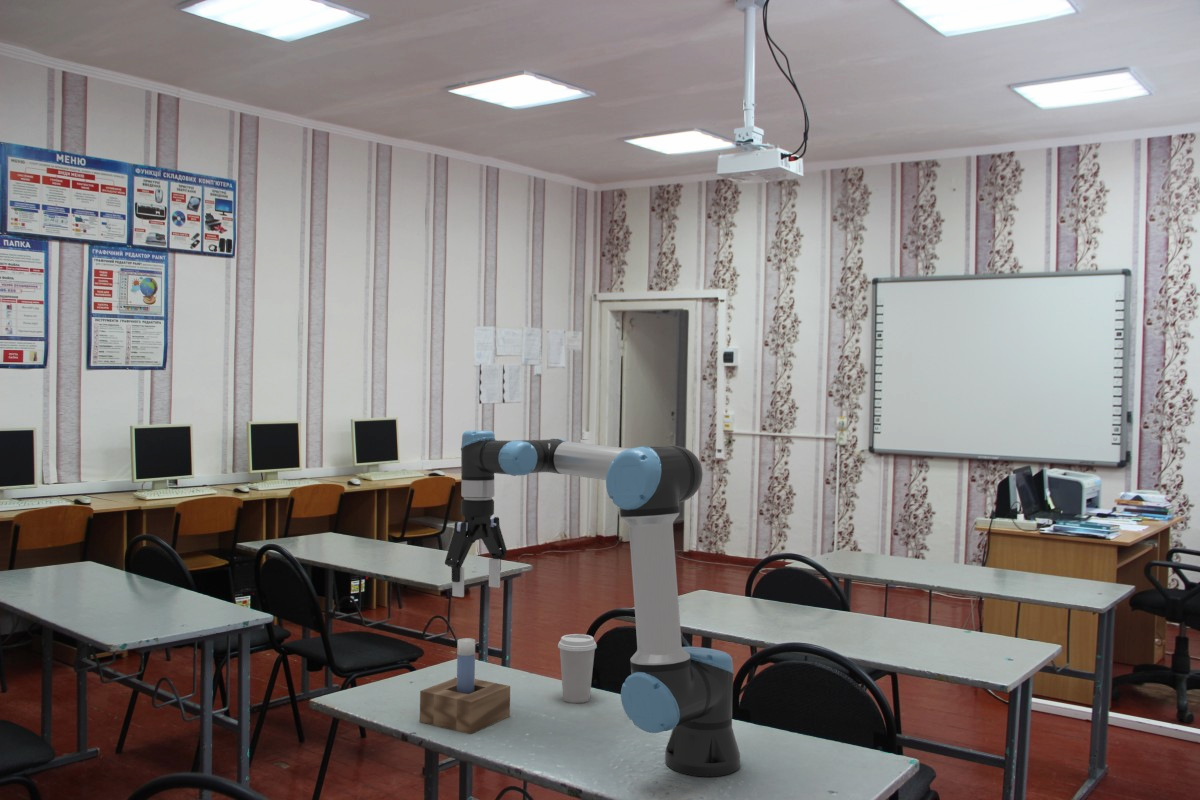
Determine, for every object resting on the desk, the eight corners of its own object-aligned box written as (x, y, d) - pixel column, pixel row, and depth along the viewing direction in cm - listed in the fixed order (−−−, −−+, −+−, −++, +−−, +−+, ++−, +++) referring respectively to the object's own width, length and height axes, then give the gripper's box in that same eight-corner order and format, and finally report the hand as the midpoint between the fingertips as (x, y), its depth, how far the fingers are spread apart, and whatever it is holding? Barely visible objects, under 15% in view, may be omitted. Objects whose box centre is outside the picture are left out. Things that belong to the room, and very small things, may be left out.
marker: (477, 718, 228) (478, 639, 228) (466, 723, 225) (467, 643, 225) (463, 715, 230) (465, 637, 230) (452, 719, 227) (453, 640, 227)
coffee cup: (603, 697, 246) (604, 636, 246) (581, 707, 238) (583, 644, 238) (571, 691, 251) (572, 631, 251) (549, 700, 243) (550, 638, 243)
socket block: (509, 716, 230) (510, 686, 230) (470, 734, 218) (471, 702, 218) (460, 705, 238) (460, 676, 238) (419, 721, 225) (420, 690, 225)
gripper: (496, 493, 240) (495, 581, 240) (429, 501, 219) (428, 598, 219) (522, 495, 237) (521, 584, 236) (456, 503, 215) (455, 602, 215)
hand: (476, 591), depth 228 cm, fingers open, 13 cm apart
